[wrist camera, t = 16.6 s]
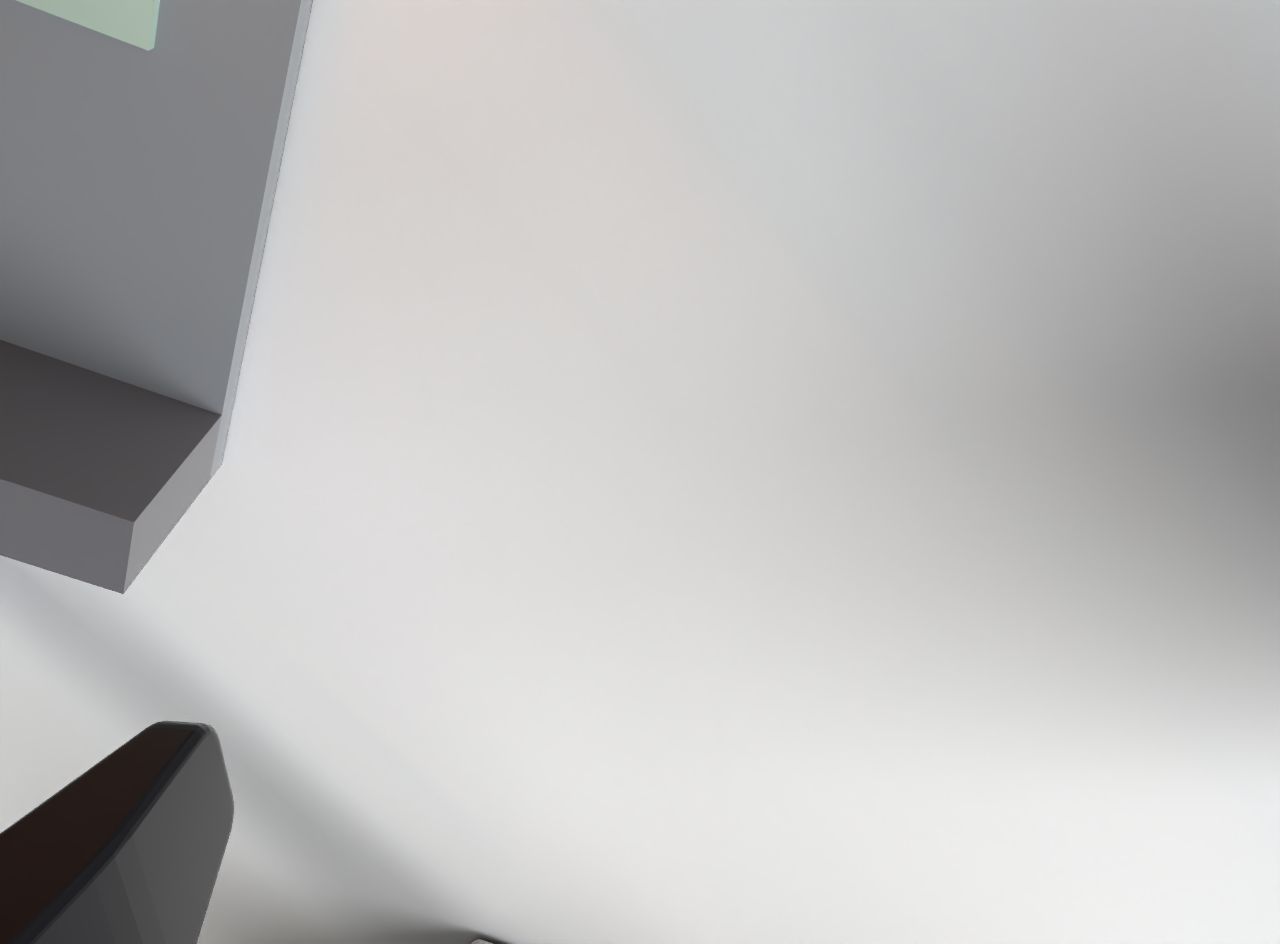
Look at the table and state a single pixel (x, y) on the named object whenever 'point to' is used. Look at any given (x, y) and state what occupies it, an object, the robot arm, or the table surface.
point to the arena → (129, 260)
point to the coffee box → (480, 942)
